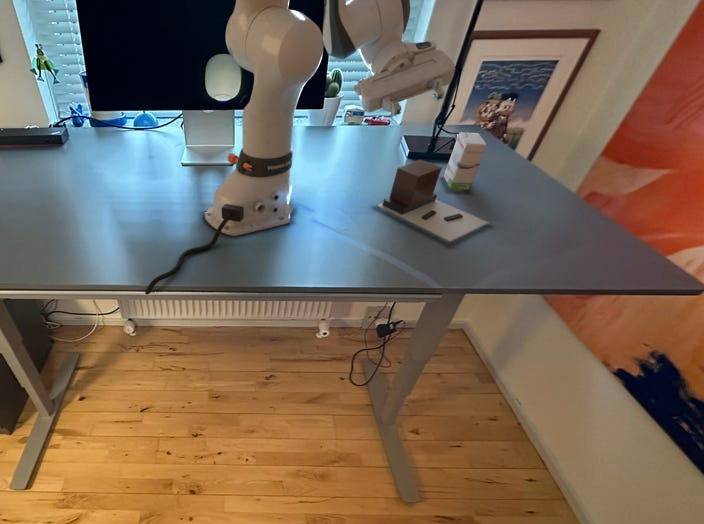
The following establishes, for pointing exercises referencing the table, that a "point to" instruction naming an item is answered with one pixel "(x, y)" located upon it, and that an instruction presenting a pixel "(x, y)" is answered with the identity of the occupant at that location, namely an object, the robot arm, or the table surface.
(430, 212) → the marker stroke
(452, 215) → the bar
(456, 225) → the whiteboard
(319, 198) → the table surface
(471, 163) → the ink box
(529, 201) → the table surface
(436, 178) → the eraser
